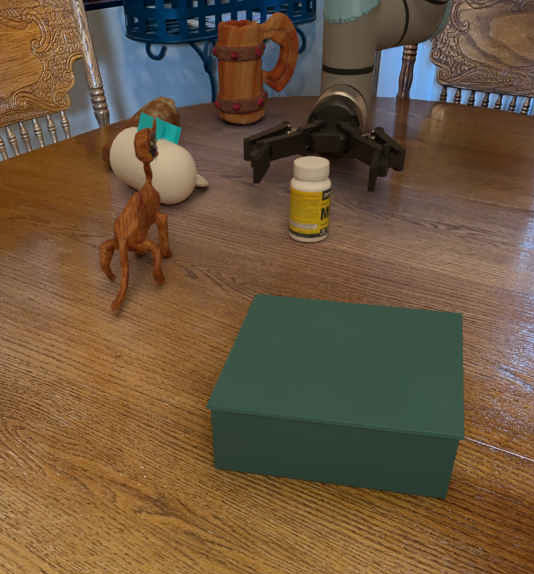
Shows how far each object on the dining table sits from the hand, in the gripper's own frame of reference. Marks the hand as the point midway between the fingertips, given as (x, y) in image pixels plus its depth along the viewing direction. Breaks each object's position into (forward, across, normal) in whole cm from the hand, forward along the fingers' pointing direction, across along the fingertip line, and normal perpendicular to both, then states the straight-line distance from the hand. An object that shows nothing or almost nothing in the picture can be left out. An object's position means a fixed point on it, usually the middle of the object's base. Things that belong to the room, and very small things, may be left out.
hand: (313, 176), depth 81 cm
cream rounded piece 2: (-7, +20, -6) cm, 22 cm away
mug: (-42, +16, -6) cm, 46 cm away
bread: (-22, +29, -6) cm, 37 cm away
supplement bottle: (+3, 0, -6) cm, 7 cm away
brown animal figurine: (+18, +16, -6) cm, 25 cm away
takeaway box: (+38, -8, -6) cm, 39 cm away
